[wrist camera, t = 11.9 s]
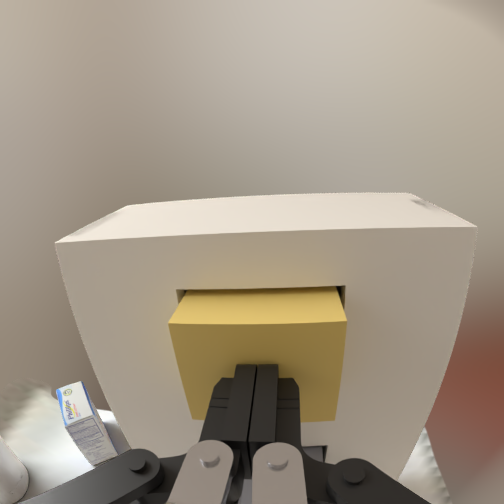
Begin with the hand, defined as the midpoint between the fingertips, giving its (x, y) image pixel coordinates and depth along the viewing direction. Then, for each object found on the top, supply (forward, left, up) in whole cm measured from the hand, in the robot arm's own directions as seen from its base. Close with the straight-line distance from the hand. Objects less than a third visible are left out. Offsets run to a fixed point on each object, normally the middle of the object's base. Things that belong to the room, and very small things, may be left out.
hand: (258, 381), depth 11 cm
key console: (0, +6, -27) cm, 28 cm away
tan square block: (0, +3, -2) cm, 4 cm away
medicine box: (-25, +13, -27) cm, 39 cm away
